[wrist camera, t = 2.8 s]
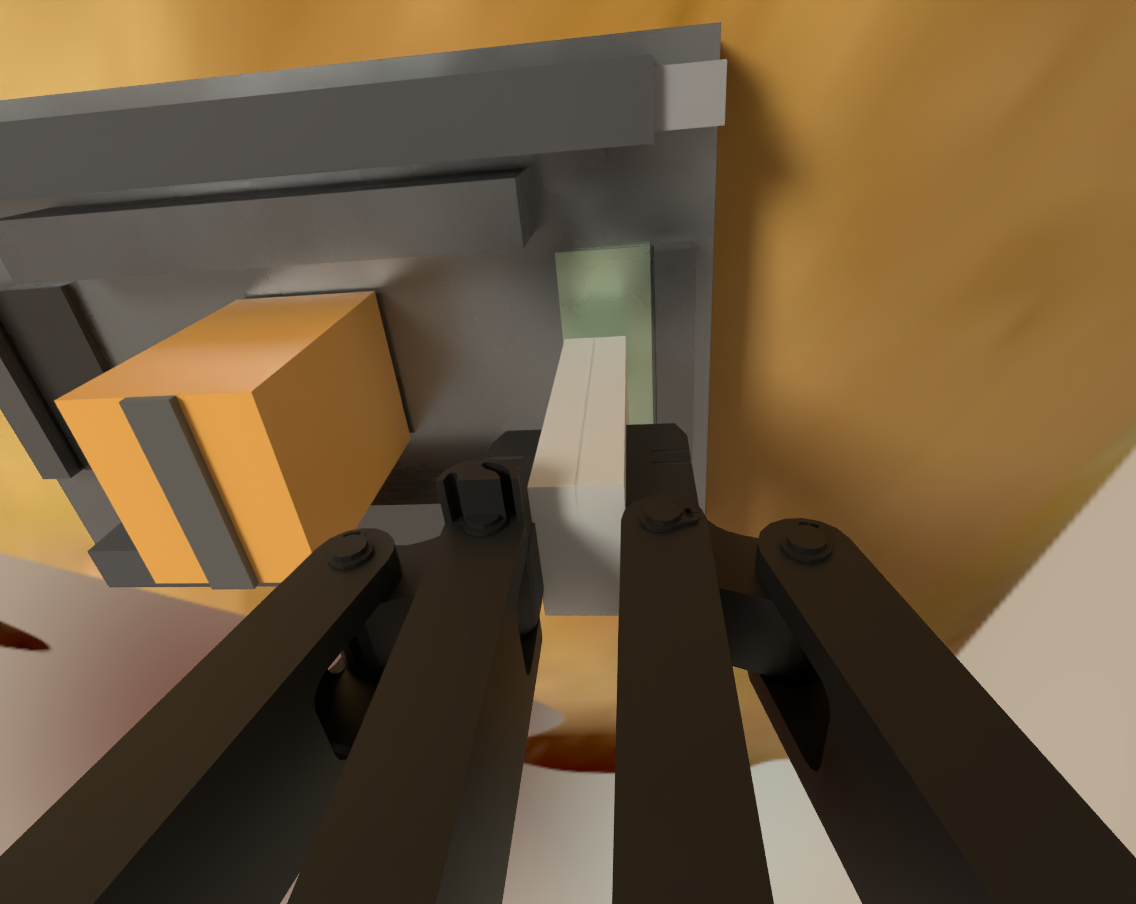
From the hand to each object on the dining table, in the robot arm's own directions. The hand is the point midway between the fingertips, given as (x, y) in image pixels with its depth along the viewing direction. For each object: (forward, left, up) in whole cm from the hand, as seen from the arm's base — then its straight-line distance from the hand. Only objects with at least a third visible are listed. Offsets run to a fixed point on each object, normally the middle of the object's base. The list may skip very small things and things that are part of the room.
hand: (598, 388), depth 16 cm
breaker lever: (0, -8, -2) cm, 8 cm away
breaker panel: (0, -8, -4) cm, 9 cm away
